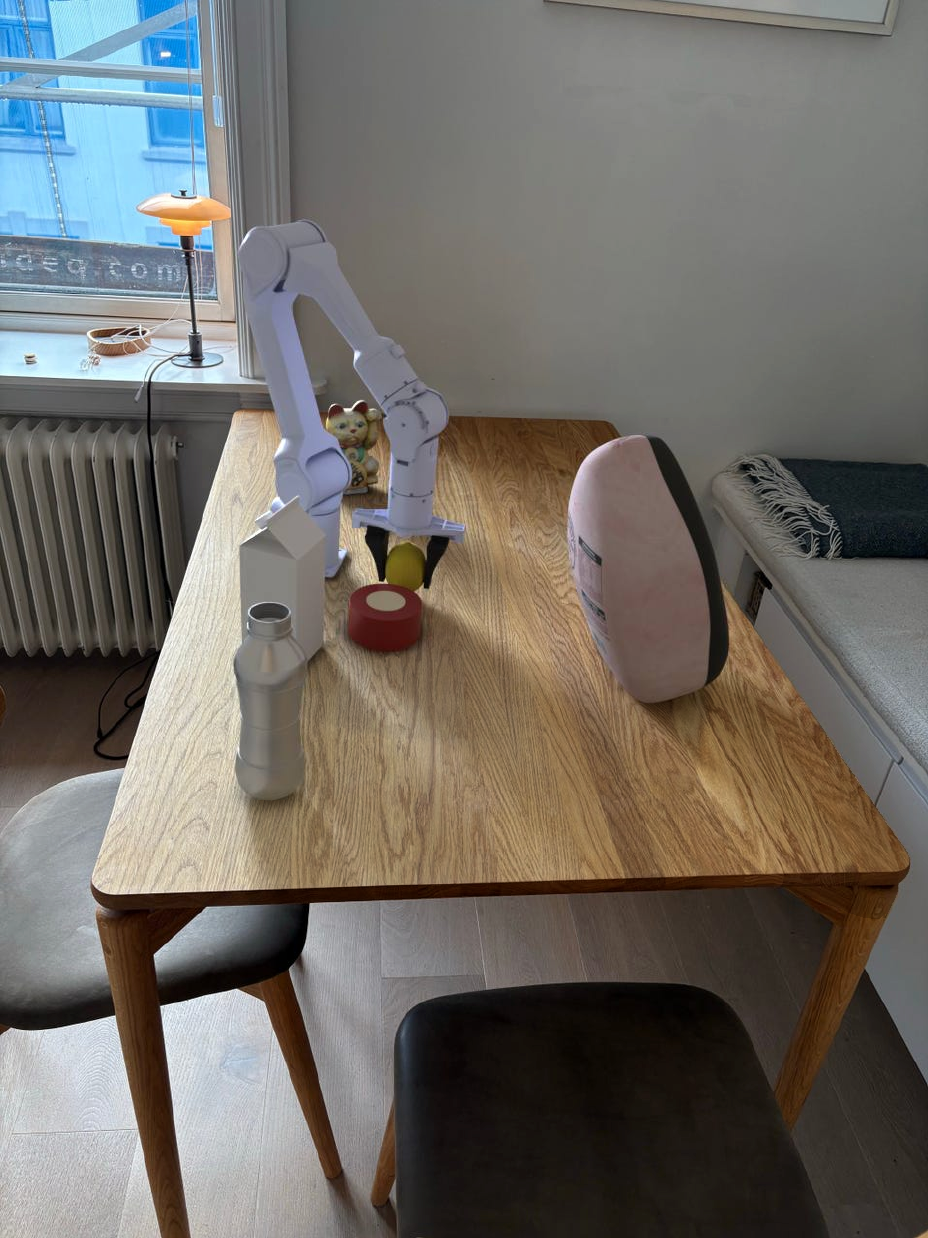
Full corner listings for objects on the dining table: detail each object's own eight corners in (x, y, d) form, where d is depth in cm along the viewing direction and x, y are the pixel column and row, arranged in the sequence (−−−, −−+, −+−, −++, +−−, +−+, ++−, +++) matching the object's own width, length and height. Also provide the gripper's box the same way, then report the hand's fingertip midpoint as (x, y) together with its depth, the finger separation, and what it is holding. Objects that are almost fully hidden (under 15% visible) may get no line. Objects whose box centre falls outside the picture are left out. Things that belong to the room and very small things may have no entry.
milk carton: (323, 645, 115) (327, 502, 106) (296, 675, 109) (297, 526, 100) (271, 630, 117) (270, 488, 107) (241, 659, 111) (237, 511, 101)
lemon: (378, 600, 126) (381, 547, 122) (389, 581, 130) (392, 529, 126) (419, 608, 125) (423, 554, 121) (428, 588, 130) (433, 536, 126)
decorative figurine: (329, 500, 151) (331, 408, 143) (309, 479, 157) (311, 391, 149) (384, 492, 155) (389, 403, 148) (363, 473, 161) (367, 387, 154)
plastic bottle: (239, 764, 95) (233, 592, 85) (307, 765, 96) (310, 595, 86) (231, 809, 90) (224, 630, 80) (303, 809, 91) (306, 633, 80)
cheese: (339, 645, 116) (341, 612, 113) (357, 608, 123) (358, 577, 121) (412, 656, 115) (414, 624, 113) (425, 619, 123) (428, 588, 120)
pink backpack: (735, 724, 110) (809, 483, 94) (573, 728, 106) (621, 479, 90) (670, 623, 128) (722, 409, 113) (529, 624, 124) (563, 402, 109)
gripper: (347, 491, 117) (344, 587, 124) (463, 509, 116) (453, 604, 123) (361, 470, 123) (357, 563, 130) (471, 486, 122) (461, 579, 129)
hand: (404, 581), depth 127 cm, fingers closed on lemon, 5 cm apart
